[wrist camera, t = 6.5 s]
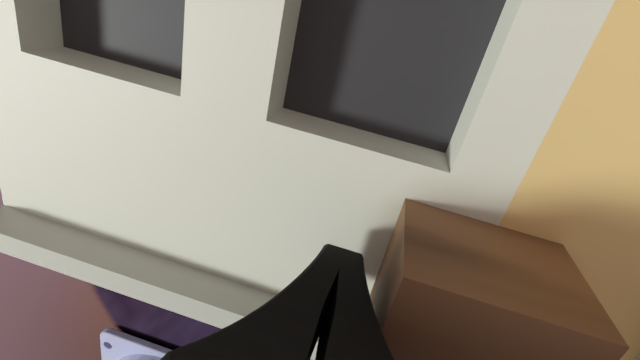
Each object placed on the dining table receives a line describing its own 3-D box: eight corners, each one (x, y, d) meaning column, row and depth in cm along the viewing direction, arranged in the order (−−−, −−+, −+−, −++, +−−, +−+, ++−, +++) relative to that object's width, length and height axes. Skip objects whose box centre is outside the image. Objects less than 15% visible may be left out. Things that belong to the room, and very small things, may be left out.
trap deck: (586, 379, 16) (629, 469, 13) (45, 203, 19) (-28, 242, 15) (945, -52, 9) (1236, -85, 6) (-14, -242, 11) (-174, -336, 8)
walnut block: (495, 351, 14) (524, 469, 10) (364, 309, 14) (349, 407, 11) (562, 244, 12) (629, 347, 8) (405, 198, 12) (403, 276, 9)
